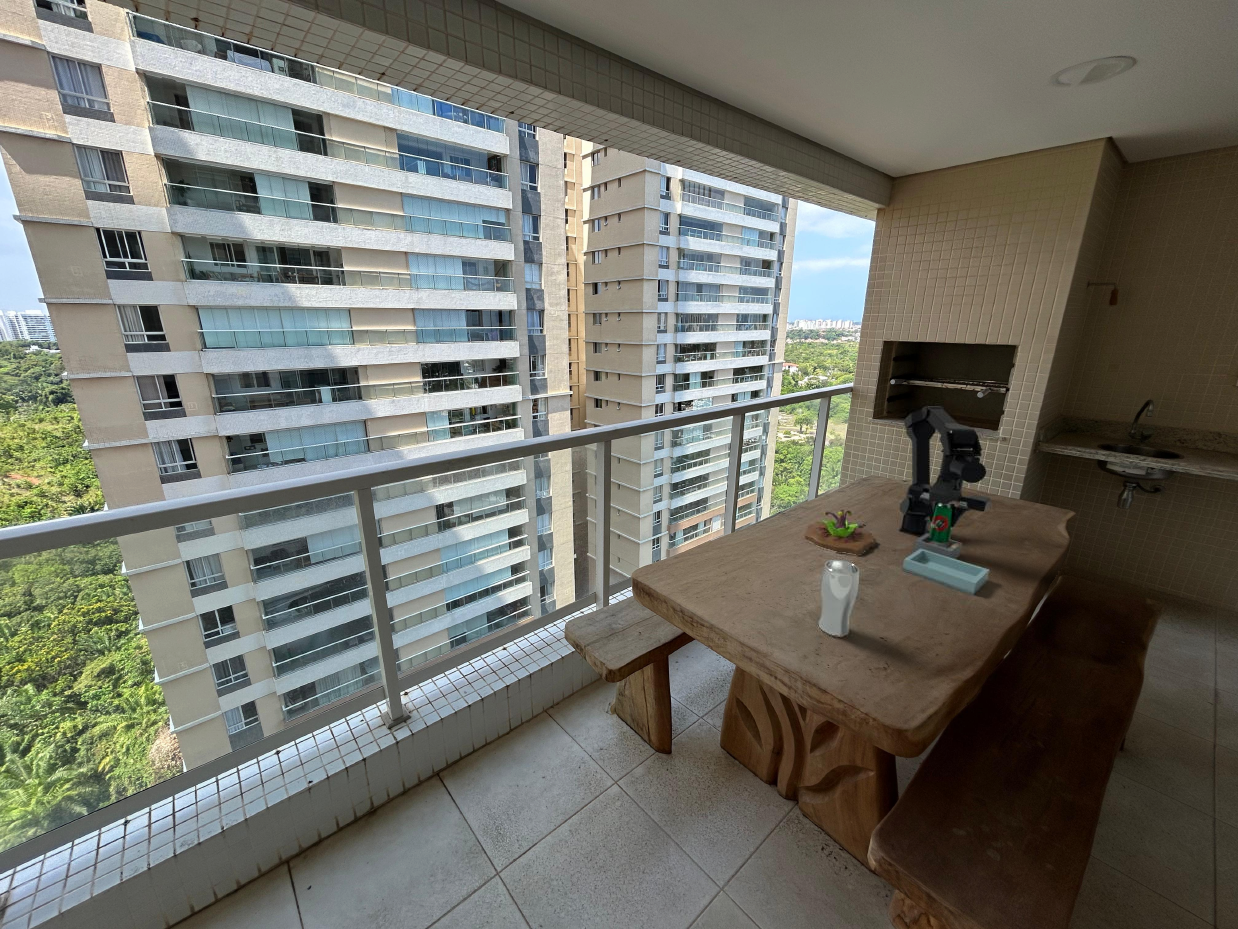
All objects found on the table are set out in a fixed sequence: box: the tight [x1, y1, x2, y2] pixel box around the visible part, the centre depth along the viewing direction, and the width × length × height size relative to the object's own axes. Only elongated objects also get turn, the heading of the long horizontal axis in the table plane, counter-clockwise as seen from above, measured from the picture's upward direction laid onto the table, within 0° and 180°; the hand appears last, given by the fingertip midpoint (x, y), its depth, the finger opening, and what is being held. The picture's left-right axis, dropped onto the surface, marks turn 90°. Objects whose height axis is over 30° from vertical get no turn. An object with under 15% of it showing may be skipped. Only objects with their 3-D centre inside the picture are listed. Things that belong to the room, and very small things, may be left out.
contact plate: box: [927, 540, 951, 549], centre depth 133 cm, size 6×6×2 cm
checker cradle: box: [912, 532, 963, 560], centre depth 133 cm, size 9×9×4 cm
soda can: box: [929, 501, 958, 543], centre depth 131 cm, size 5×5×12 cm
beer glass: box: [818, 559, 860, 636], centre depth 97 cm, size 7×7×15 cm
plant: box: [804, 509, 876, 556], centre depth 141 cm, size 20×20×11 cm
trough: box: [902, 549, 990, 596], centre depth 120 cm, size 16×11×3 cm
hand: (941, 524), depth 131 cm, fingers closed on soda can, 5 cm apart
